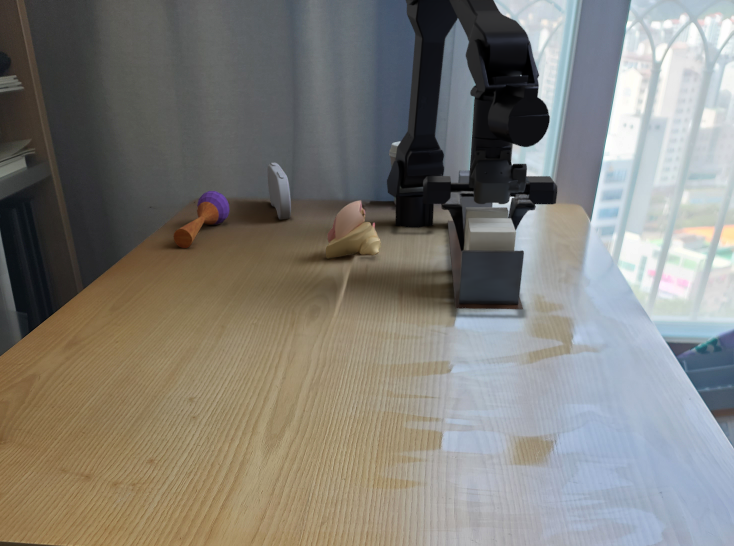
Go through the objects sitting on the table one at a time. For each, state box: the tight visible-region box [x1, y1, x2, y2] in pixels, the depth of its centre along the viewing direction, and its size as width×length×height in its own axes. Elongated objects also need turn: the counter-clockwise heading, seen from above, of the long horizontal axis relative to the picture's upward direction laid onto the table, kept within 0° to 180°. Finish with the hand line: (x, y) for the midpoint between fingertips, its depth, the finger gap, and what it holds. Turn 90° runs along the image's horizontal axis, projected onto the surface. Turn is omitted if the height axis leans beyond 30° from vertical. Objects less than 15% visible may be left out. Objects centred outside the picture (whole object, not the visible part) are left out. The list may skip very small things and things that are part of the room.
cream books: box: [466, 218, 517, 251], centre depth 103 cm, size 6×7×9 cm
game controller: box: [267, 162, 292, 220], centre depth 149 cm, size 20×2×8 cm, turn 13°
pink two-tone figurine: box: [325, 199, 382, 259], centre depth 122 cm, size 9×10×10 cm
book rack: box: [447, 220, 525, 310], centre depth 118 cm, size 9×48×8 cm, turn 176°
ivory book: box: [464, 206, 509, 250], centre depth 111 cm, size 6×2×9 cm, turn 86°
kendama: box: [172, 190, 230, 249], centre depth 137 cm, size 6×6×20 cm
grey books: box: [457, 169, 494, 228], centre depth 134 cm, size 6×5×9 cm
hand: (483, 251), depth 112 cm, fingers closed on ivory book, 6 cm apart
